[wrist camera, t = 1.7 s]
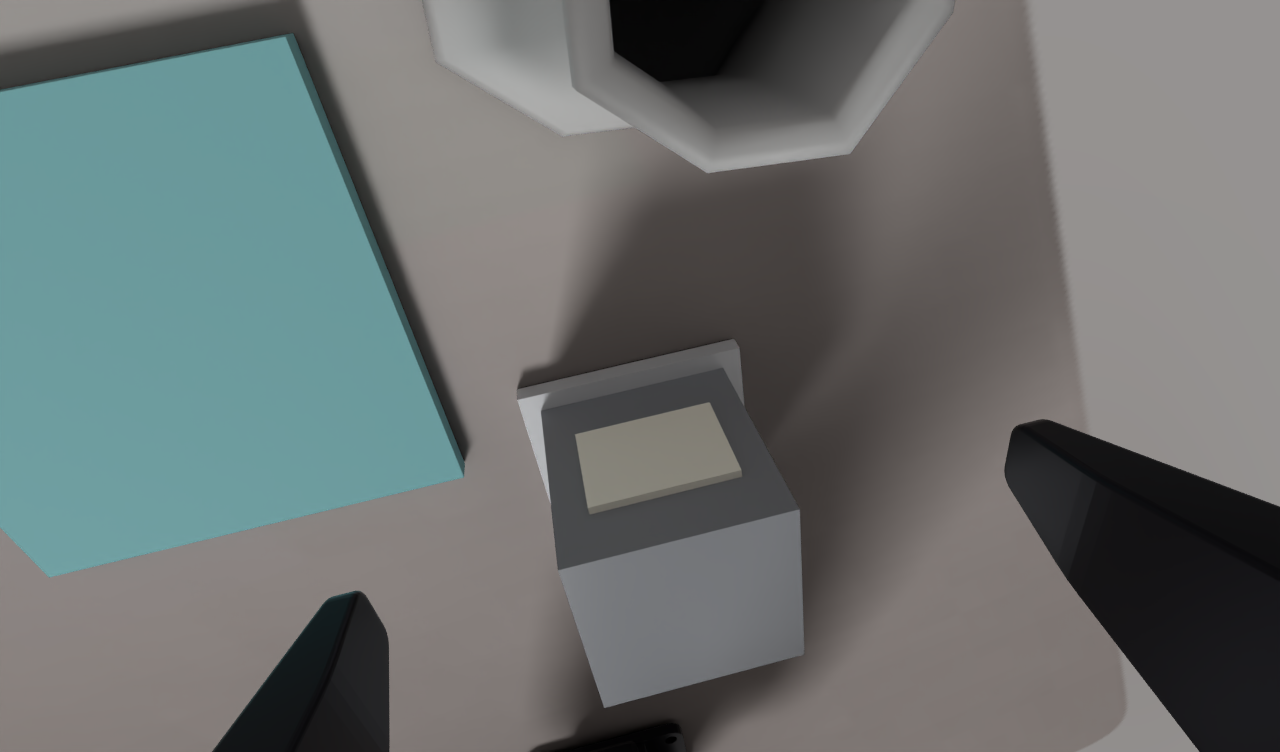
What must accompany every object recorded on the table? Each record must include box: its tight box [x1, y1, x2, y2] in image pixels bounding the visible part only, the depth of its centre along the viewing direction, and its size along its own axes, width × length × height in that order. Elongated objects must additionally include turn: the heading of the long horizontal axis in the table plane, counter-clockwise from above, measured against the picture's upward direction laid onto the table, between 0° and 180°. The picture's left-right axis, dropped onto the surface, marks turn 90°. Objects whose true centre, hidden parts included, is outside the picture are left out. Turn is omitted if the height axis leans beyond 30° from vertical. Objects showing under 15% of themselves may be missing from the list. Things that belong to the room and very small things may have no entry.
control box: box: [517, 339, 804, 708], centre depth 18 cm, size 6×6×6 cm
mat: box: [0, 33, 465, 577], centre depth 15 cm, size 11×11×1 cm
